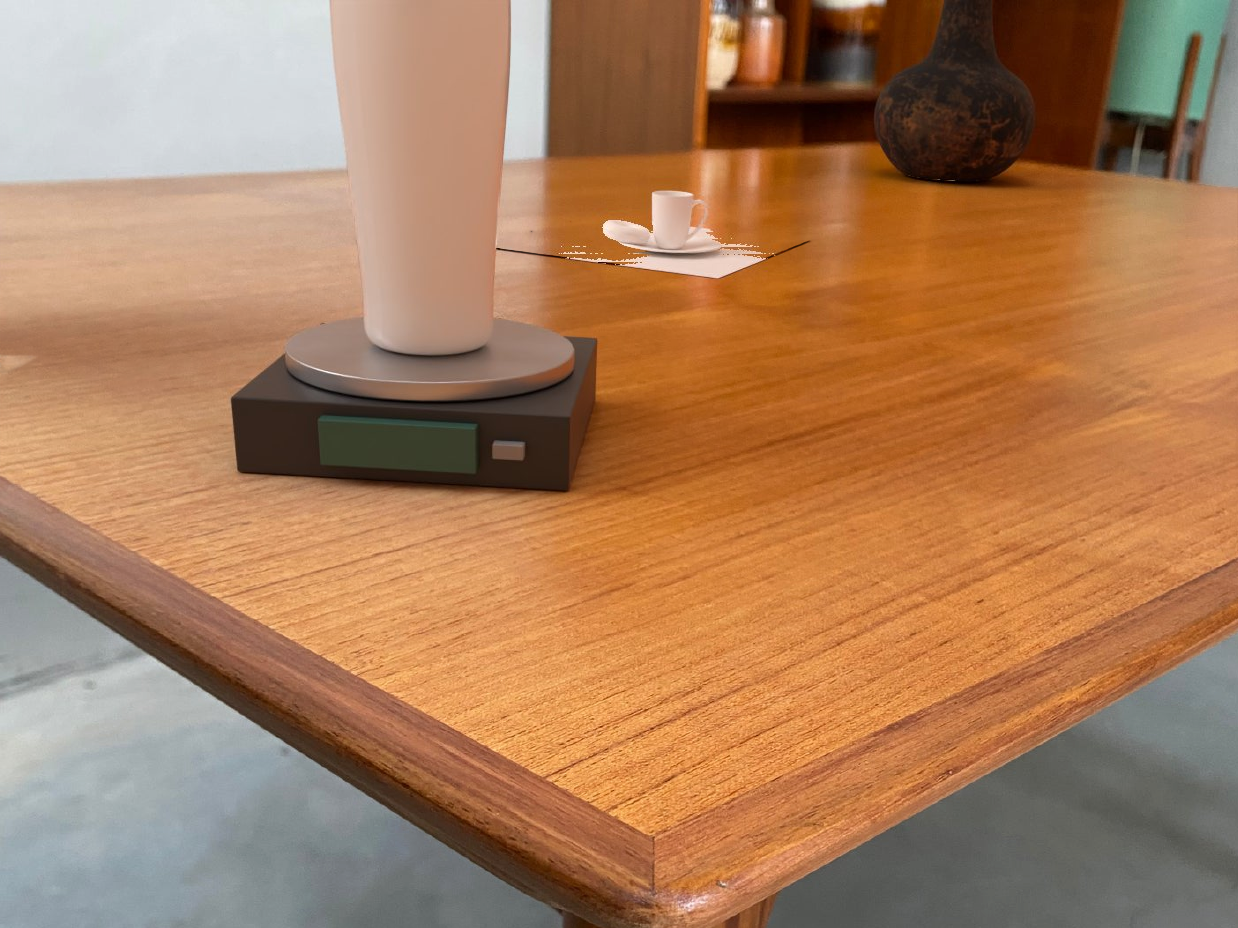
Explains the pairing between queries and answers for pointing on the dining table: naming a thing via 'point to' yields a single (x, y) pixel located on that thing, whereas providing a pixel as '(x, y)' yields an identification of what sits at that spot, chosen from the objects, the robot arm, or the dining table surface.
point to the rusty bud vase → (956, 104)
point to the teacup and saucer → (676, 241)
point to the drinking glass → (424, 163)
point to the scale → (416, 432)
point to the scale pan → (429, 364)
